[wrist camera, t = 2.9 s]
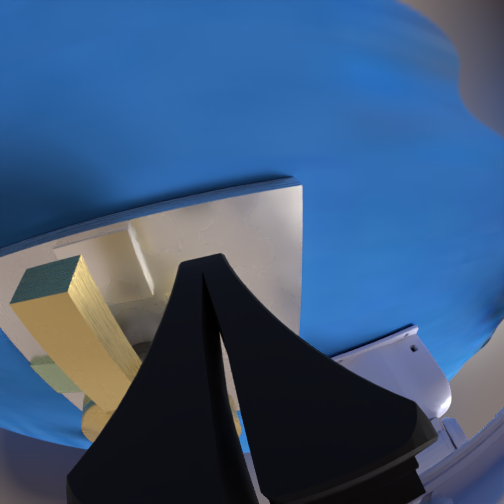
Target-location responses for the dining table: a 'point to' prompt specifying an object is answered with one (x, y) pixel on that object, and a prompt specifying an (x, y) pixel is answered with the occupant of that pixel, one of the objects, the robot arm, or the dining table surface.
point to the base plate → (168, 262)
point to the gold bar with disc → (80, 336)
